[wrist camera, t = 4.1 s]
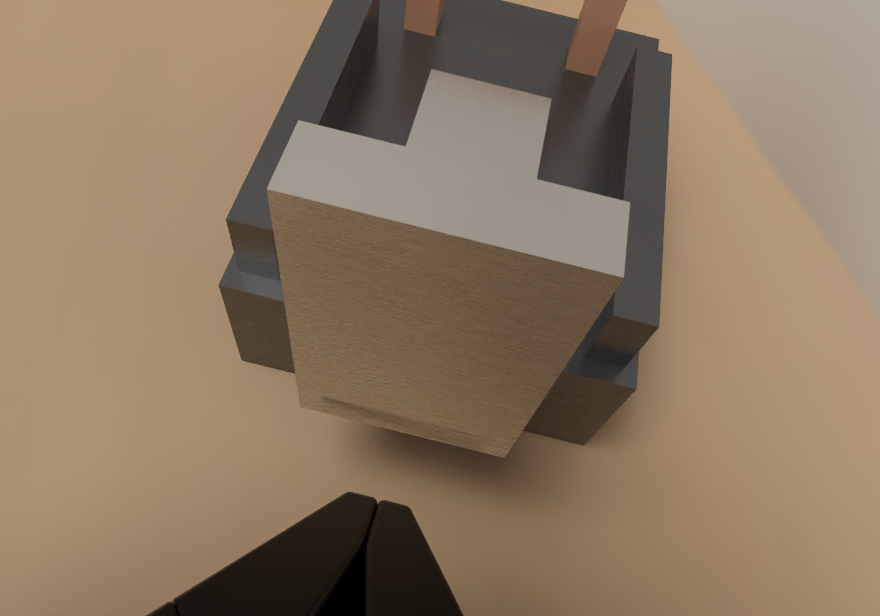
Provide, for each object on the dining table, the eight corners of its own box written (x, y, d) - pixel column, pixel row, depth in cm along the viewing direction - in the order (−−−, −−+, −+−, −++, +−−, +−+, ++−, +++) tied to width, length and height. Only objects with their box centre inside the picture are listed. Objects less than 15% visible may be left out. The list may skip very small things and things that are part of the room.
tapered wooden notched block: (504, 458, 14) (623, 276, 8) (300, 406, 14) (266, 189, 8) (560, 126, 19) (658, -135, 13) (411, 90, 19) (441, -188, 13)
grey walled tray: (583, 445, 19) (672, 350, 14) (241, 359, 19) (202, 234, 14) (616, 127, 26) (685, -16, 20) (363, 64, 26) (368, -94, 21)
